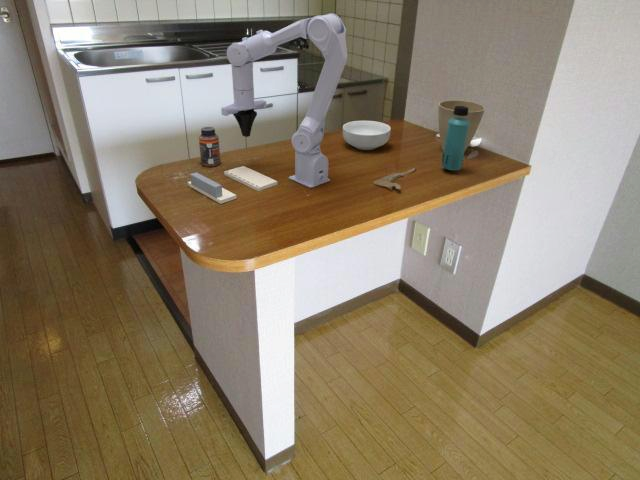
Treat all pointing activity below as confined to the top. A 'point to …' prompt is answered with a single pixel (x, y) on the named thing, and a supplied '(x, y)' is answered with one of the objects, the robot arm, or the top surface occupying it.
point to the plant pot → (447, 113)
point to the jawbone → (387, 180)
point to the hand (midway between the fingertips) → (246, 135)
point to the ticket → (250, 178)
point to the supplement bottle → (209, 147)
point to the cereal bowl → (366, 134)
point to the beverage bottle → (456, 140)
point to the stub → (210, 188)
